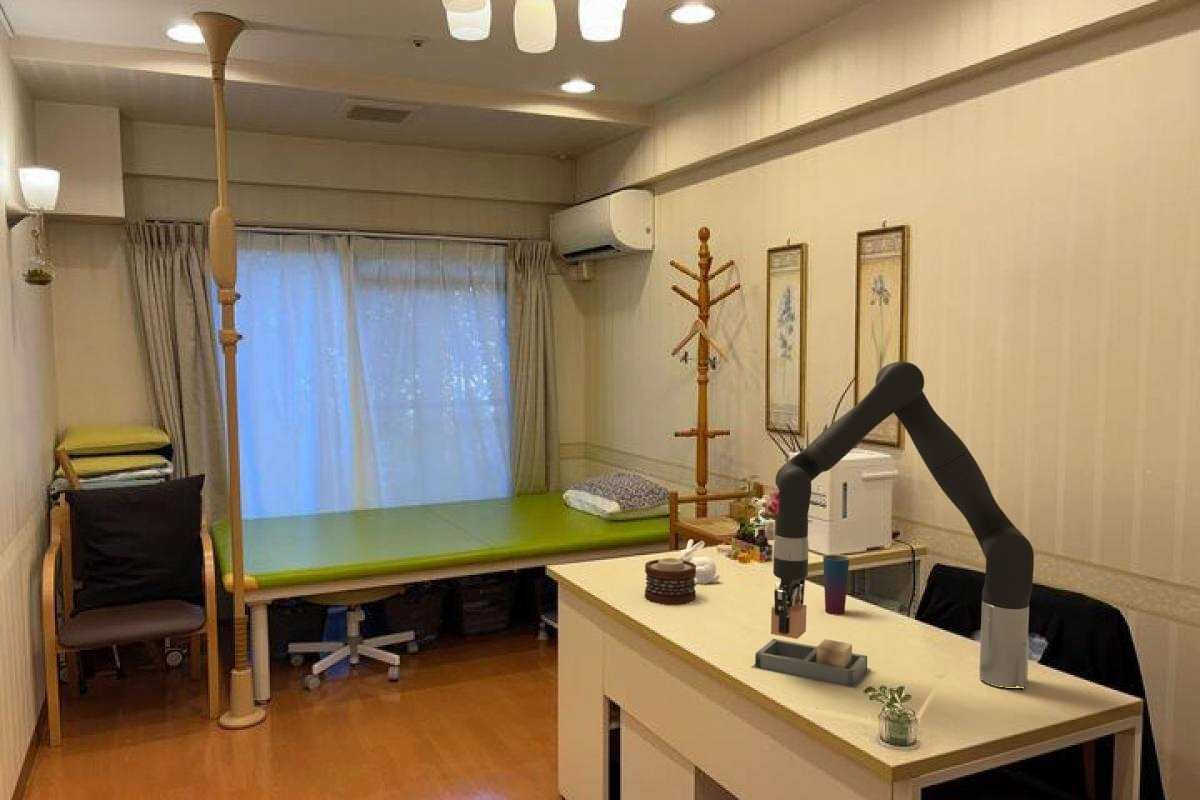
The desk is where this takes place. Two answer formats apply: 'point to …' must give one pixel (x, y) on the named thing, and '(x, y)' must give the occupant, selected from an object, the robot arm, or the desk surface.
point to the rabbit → (700, 564)
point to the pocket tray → (808, 664)
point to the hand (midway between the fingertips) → (788, 629)
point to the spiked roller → (670, 581)
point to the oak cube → (835, 654)
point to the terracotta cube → (791, 622)
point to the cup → (835, 582)
